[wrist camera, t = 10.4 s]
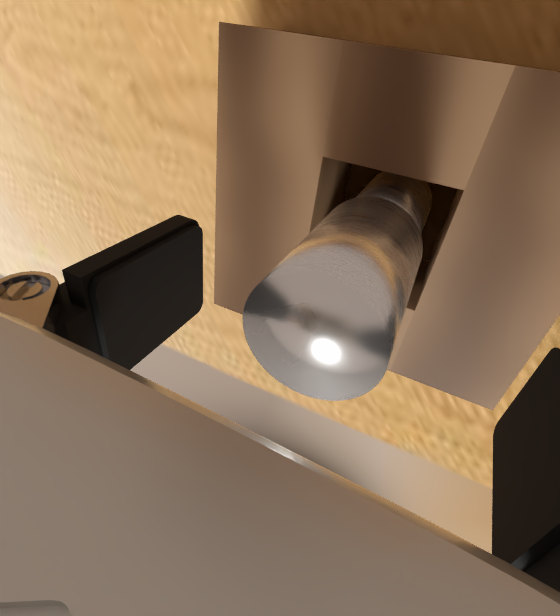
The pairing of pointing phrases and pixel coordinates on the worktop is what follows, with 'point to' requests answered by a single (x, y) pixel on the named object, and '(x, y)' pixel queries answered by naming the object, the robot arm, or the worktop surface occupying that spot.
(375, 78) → the block
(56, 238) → the worktop surface
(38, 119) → the worktop surface
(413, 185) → the stepped metal peg
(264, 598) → the robot arm
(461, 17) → the worktop surface
